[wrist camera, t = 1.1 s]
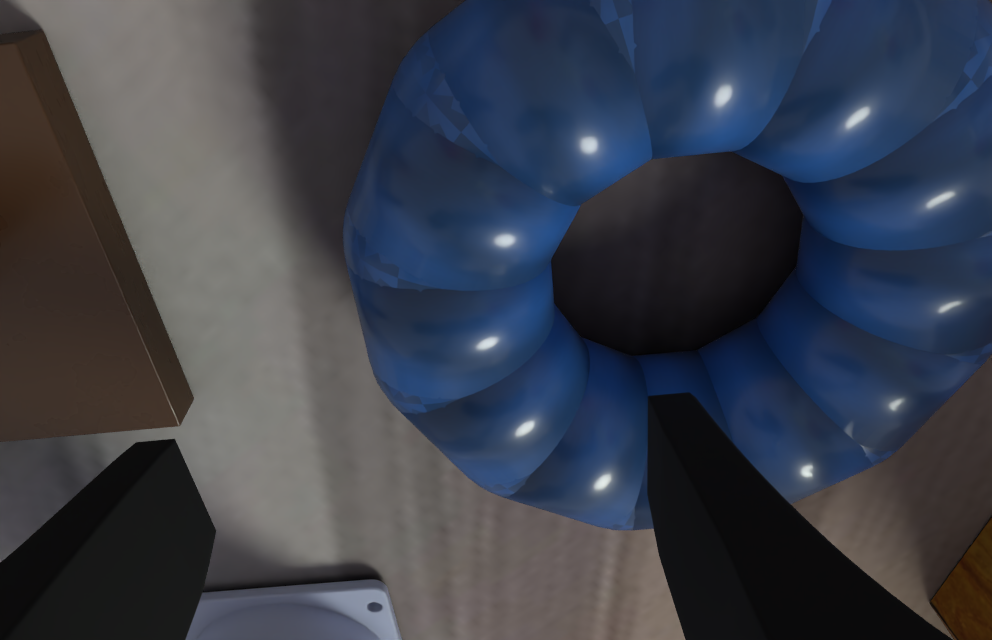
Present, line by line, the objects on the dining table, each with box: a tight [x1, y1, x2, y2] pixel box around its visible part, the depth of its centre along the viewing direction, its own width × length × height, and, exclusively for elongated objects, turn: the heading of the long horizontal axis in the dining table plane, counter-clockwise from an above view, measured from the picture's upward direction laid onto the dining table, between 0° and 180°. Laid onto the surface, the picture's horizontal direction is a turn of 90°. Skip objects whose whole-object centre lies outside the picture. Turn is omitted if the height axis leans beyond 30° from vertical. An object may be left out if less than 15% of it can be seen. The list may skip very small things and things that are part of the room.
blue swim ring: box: [342, 0, 992, 530], centre depth 17 cm, size 14×14×4 cm
